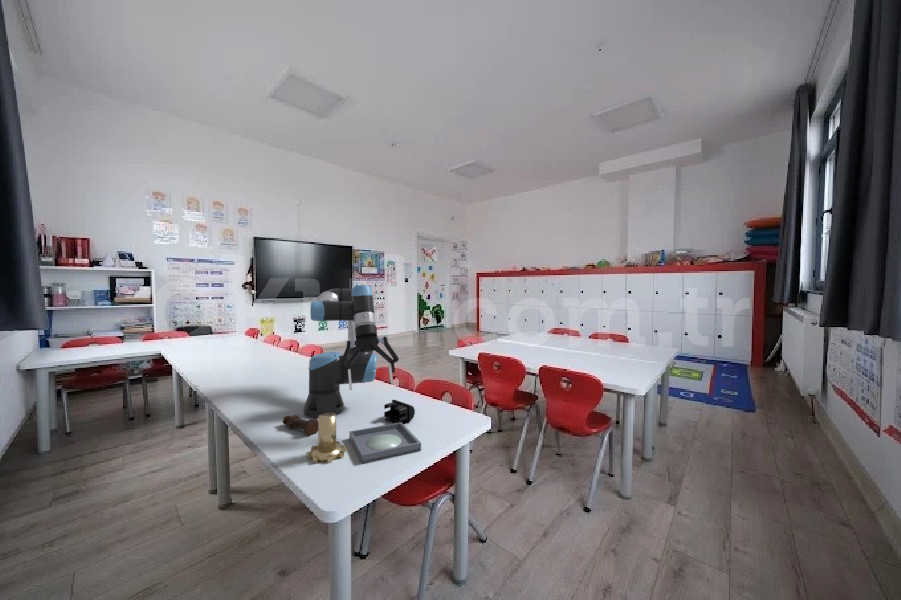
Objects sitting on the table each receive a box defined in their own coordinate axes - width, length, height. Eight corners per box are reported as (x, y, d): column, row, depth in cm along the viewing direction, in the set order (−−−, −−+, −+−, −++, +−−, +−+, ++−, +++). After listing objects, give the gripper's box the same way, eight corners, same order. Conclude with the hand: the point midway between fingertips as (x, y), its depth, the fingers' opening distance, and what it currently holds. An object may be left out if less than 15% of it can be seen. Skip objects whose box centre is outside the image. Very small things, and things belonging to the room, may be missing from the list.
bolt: (288, 429, 121) (315, 438, 113) (276, 426, 117) (304, 435, 109) (295, 413, 123) (322, 420, 116) (284, 410, 119) (311, 417, 112)
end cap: (415, 421, 126) (415, 403, 126) (400, 426, 120) (400, 408, 120) (397, 414, 132) (398, 397, 132) (383, 419, 127) (383, 402, 127)
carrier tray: (349, 438, 110) (349, 431, 110) (401, 428, 118) (401, 422, 118) (362, 463, 94) (362, 455, 94) (421, 450, 102) (421, 442, 102)
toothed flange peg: (305, 450, 101) (306, 412, 101) (342, 443, 106) (342, 407, 106) (309, 467, 92) (309, 425, 91) (349, 458, 97) (349, 419, 97)
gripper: (327, 327, 113) (331, 390, 106) (401, 319, 120) (409, 378, 113) (329, 333, 119) (333, 393, 112) (399, 325, 127) (406, 382, 120)
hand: (371, 386), depth 113 cm, fingers open, 13 cm apart
